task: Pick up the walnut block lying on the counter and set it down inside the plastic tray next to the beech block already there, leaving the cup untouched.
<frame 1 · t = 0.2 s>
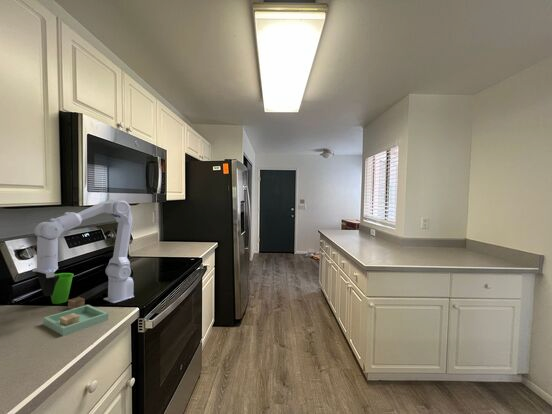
hand: (47, 292, 96), 10 cm above the countertop, fingers open, 7 cm apart
walnut block: (76, 309, 107), on the countertop
cup: (59, 302, 113), on the countertop
beech block in tray: (69, 328, 90), point 1 cm above the countertop, touching tray
tray: (76, 323, 95), on the countertop
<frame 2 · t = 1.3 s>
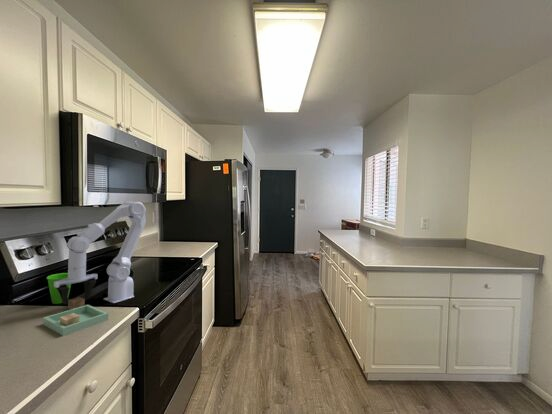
hand: (76, 300, 107), 3 cm above the countertop, fingers open, 7 cm apart
nothing on the countertop moved.
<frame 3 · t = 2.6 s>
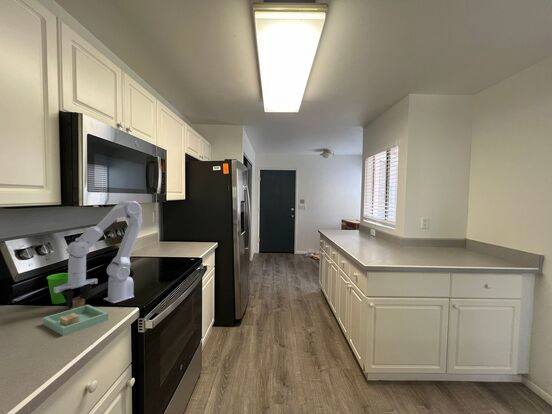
hand: (76, 305, 107), 1 cm above the countertop, fingers closed on walnut block, 4 cm apart
walnut block: (76, 309, 107), on the countertop, touching gripper
everything else where it was.
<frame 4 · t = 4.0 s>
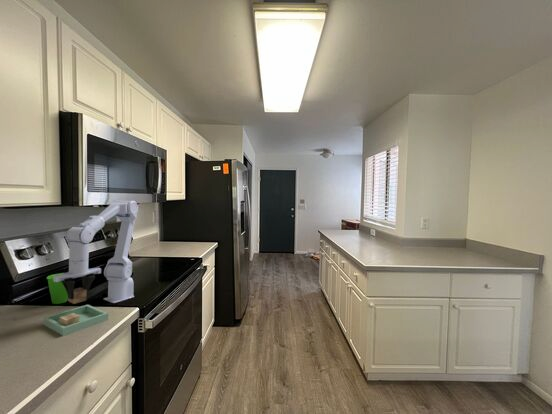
hand: (77, 296, 98), 8 cm above the countertop, fingers closed on walnut block, 4 cm apart
walnut block: (77, 300, 98), point 7 cm above the countertop, touching gripper
everything else where it was.
when the fingers open (3 cm above the countertop, at t = 5.8 s): walnut block drops 1 cm, resting on tray.
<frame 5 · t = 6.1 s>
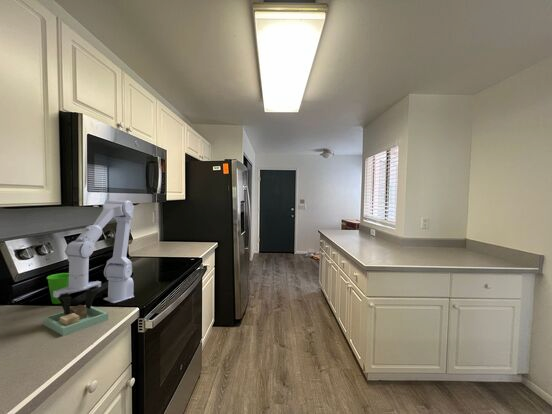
hand: (77, 311, 97), 3 cm above the countertop, fingers open, 6 cm apart
walnut block: (77, 318, 98), point 1 cm above the countertop, touching tray
everything else where it was.
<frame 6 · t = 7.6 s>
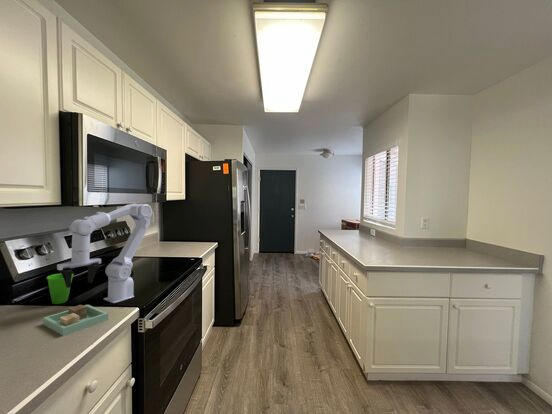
hand: (79, 284, 105), 10 cm above the countertop, fingers open, 7 cm apart
nothing on the countertop moved.
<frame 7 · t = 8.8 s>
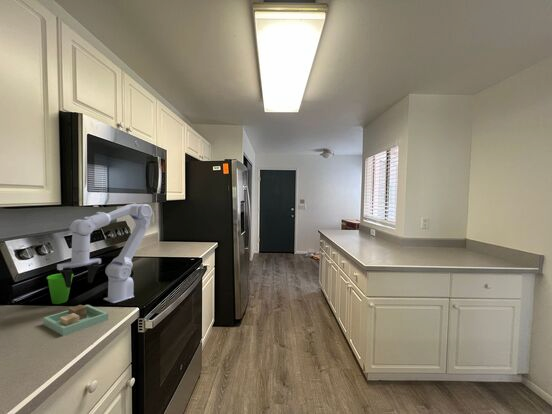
hand: (79, 284, 105), 10 cm above the countertop, fingers open, 7 cm apart
nothing on the countertop moved.
at the end: walnut block inside the target area on the tray (3.2 cm from its centre), point 0.6 cm above the tray's base; walnut block point 0.6 cm above the countertop; the gripper is holding nothing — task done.
